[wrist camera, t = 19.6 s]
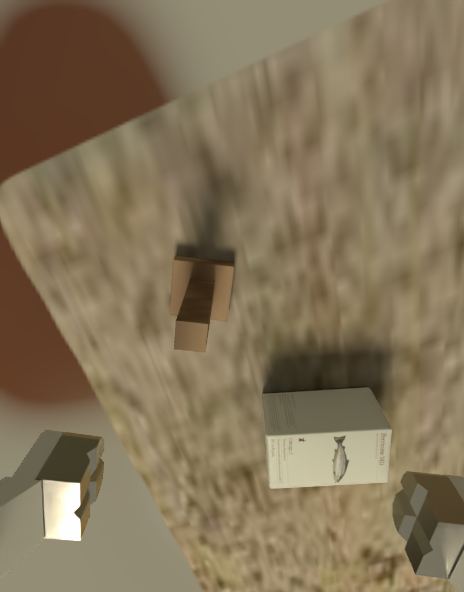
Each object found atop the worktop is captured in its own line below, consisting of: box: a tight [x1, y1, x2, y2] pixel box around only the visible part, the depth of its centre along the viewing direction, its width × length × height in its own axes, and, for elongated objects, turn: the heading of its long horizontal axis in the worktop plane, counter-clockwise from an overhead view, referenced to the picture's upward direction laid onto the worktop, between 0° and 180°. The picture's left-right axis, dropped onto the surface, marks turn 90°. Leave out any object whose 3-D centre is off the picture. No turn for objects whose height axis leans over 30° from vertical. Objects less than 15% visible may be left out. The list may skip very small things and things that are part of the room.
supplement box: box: [262, 387, 392, 488], centre depth 44 cm, size 7×7×13 cm
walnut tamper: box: [170, 256, 234, 352], centre depth 37 cm, size 6×6×12 cm
